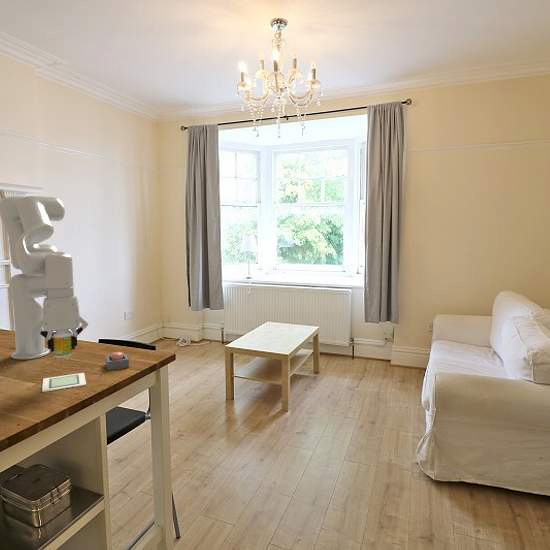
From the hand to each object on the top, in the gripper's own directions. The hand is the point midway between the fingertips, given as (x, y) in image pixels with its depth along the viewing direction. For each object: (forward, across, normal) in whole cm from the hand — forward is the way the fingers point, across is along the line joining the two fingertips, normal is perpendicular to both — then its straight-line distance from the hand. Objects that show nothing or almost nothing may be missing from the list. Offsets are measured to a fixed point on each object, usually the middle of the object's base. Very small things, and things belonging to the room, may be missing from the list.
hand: (62, 349), depth 126 cm
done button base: (+11, +17, +9) cm, 22 cm away
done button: (+9, +17, +9) cm, 21 cm away
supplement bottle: (+2, 0, 0) cm, 2 cm away
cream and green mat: (+11, 0, 0) cm, 11 cm away
